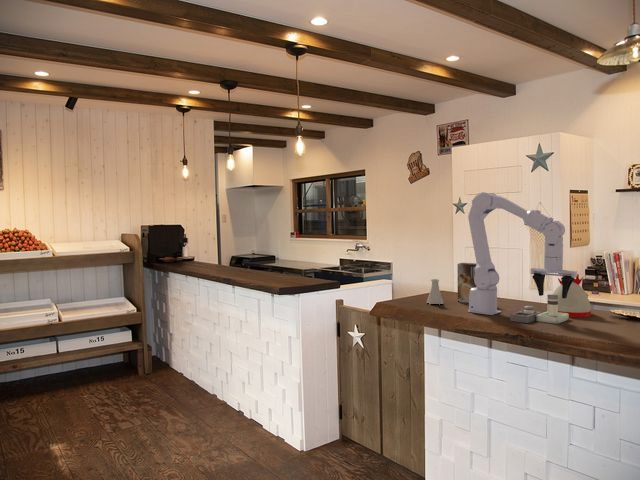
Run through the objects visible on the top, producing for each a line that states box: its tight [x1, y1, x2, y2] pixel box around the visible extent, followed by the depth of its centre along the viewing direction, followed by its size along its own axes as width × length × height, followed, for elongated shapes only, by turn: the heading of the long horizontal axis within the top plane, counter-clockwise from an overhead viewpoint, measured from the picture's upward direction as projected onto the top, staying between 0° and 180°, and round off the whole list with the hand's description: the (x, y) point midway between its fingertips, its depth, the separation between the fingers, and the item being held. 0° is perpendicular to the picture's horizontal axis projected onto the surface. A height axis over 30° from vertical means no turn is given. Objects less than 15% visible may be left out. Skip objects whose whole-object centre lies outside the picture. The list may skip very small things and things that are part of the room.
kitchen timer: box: [552, 273, 592, 318], centre depth 181 cm, size 14×14×15 cm
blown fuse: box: [546, 293, 558, 317], centre depth 169 cm, size 3×3×8 cm
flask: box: [426, 278, 445, 306], centre depth 203 cm, size 7×7×10 cm
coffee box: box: [456, 262, 477, 304], centre depth 206 cm, size 9×6×16 cm
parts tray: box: [535, 311, 570, 325], centre depth 169 cm, size 7×10×2 cm
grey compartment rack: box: [509, 305, 542, 324], centre depth 171 cm, size 6×11×4 cm, turn 134°
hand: (552, 296), depth 169 cm, fingers open, 7 cm apart
